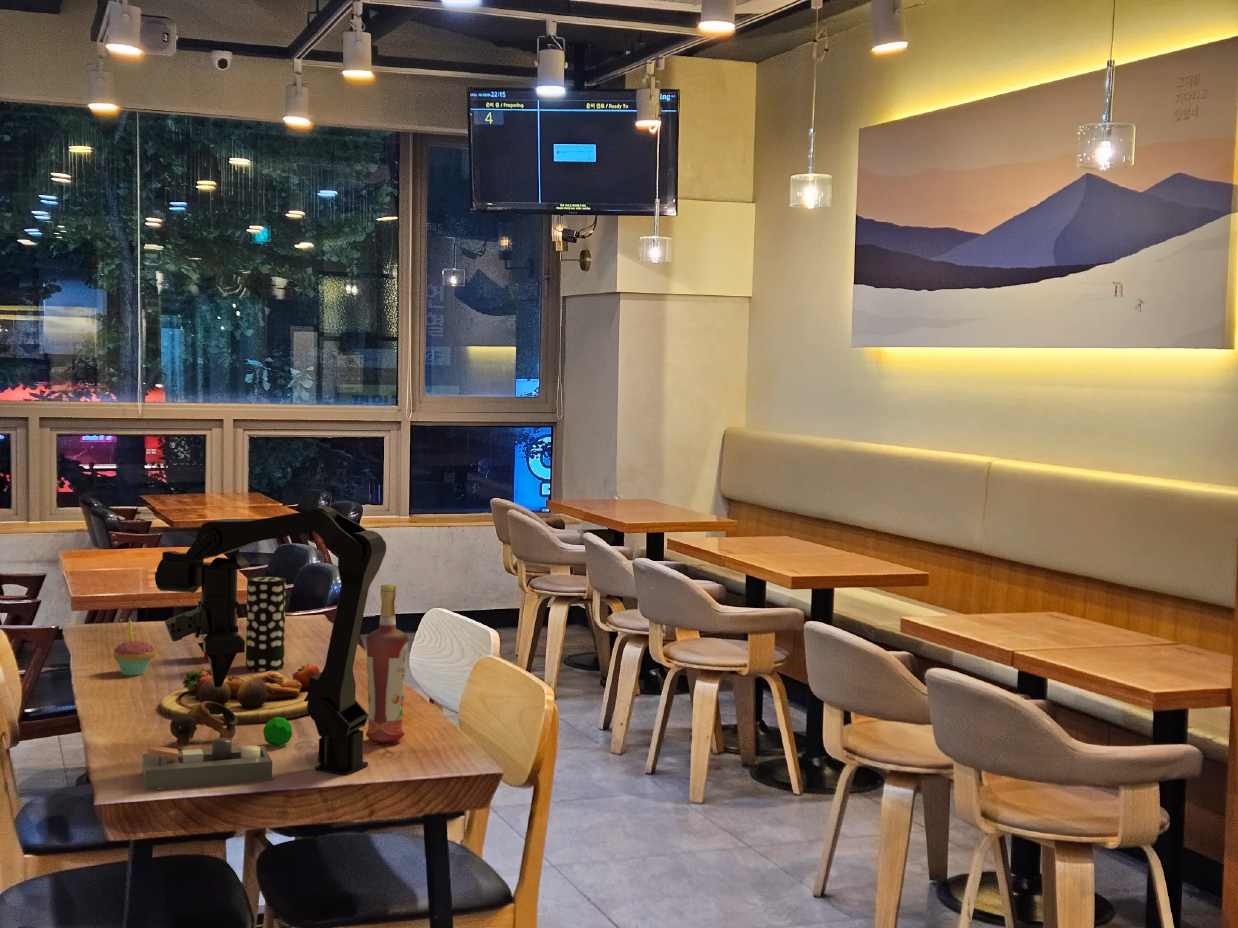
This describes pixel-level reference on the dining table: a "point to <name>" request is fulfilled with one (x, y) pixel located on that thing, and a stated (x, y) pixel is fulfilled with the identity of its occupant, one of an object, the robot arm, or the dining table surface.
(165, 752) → the terracotta rocker
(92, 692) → the dining table surface
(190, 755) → the grey square button
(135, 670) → the cupcake
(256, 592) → the spotted tube
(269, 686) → the wooden plate with food
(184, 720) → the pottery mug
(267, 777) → the panel
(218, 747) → the black round button
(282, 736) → the polyhedron
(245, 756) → the white cylinder
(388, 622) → the liquor
